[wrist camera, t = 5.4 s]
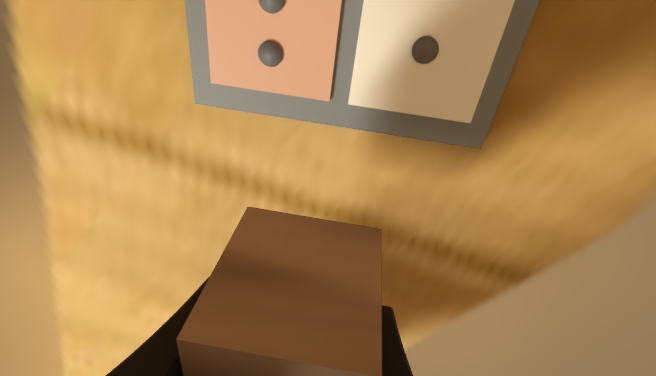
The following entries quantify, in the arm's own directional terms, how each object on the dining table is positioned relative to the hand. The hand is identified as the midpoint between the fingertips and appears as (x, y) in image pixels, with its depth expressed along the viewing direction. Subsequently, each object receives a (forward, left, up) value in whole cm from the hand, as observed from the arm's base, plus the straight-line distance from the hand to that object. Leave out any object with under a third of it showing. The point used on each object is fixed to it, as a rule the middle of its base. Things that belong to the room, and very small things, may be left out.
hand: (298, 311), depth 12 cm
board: (+7, 0, -8) cm, 11 cm away
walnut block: (0, 0, -2) cm, 2 cm away
